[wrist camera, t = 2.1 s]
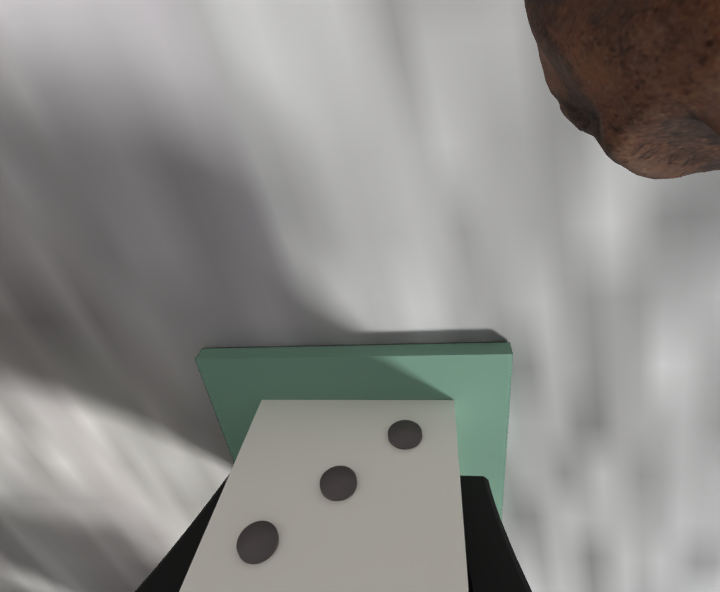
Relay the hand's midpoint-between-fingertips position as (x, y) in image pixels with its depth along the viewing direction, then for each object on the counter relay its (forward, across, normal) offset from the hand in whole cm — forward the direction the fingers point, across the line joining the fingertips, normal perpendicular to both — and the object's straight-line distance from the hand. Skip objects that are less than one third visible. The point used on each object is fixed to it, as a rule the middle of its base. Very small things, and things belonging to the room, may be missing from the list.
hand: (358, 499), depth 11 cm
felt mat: (+1, 0, 0) cm, 1 cm away
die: (+1, 0, 0) cm, 1 cm away
